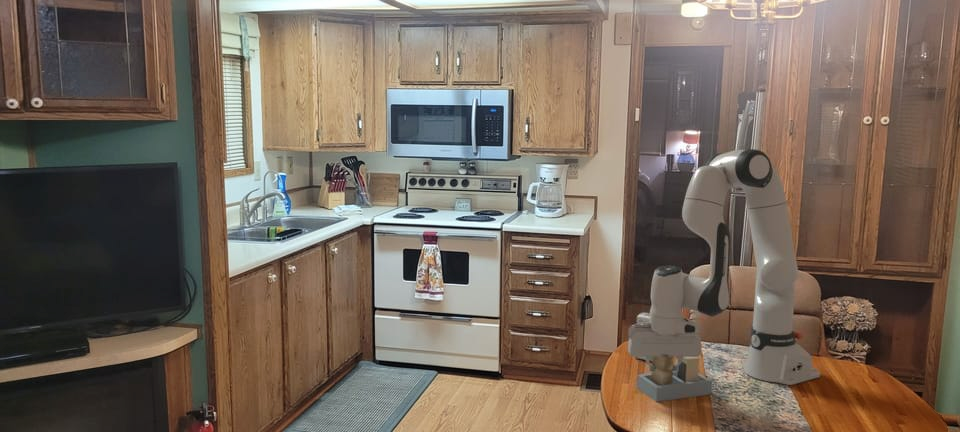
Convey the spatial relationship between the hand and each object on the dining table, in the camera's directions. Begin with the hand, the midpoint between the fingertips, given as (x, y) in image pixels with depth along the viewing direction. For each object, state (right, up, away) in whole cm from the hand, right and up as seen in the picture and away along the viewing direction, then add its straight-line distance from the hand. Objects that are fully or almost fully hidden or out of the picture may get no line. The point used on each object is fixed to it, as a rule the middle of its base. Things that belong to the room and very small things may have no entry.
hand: (662, 370), depth 194 cm
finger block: (0, -4, +1) cm, 4 cm away
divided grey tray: (+4, -6, +2) cm, 8 cm away
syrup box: (+2, -3, +29) cm, 29 cm away
